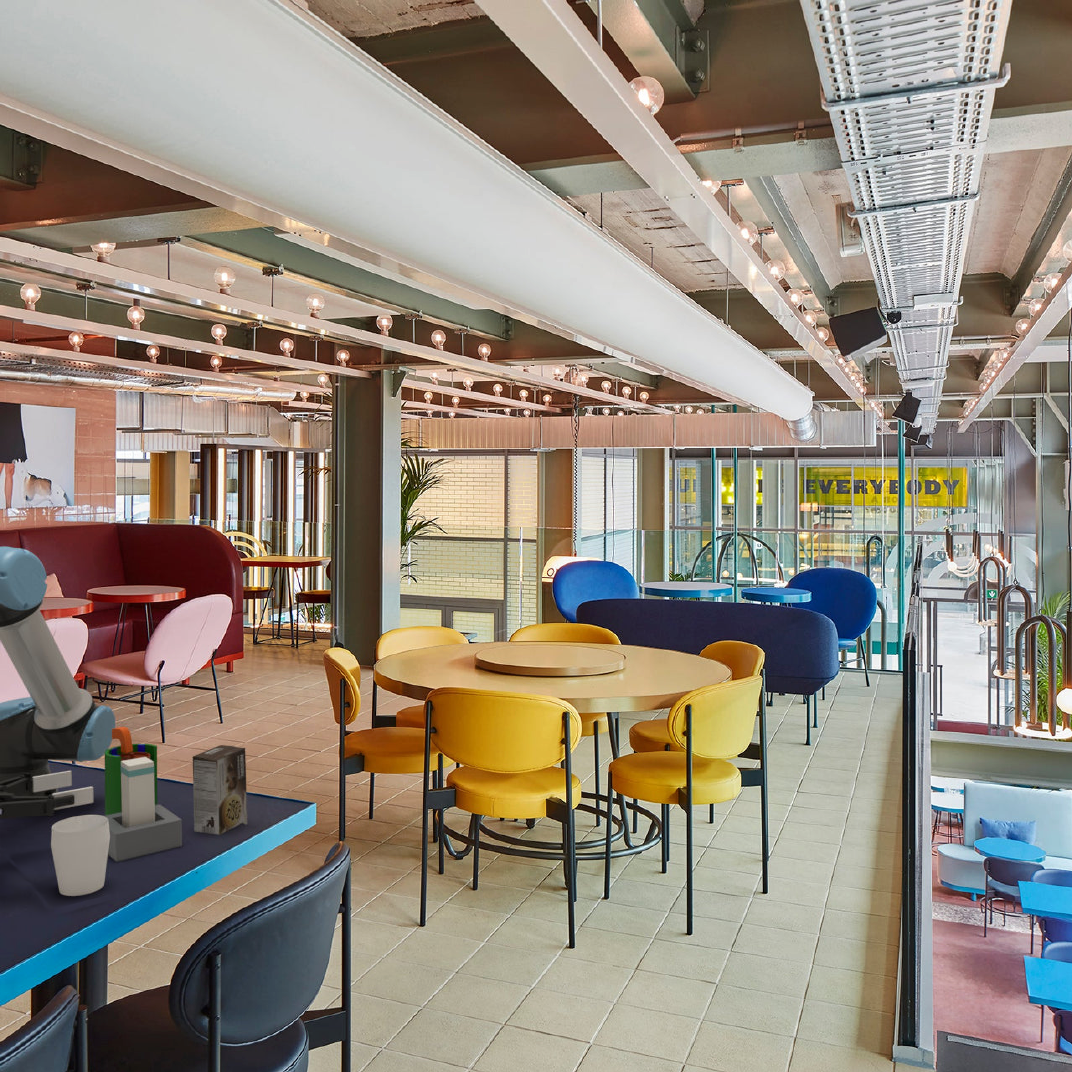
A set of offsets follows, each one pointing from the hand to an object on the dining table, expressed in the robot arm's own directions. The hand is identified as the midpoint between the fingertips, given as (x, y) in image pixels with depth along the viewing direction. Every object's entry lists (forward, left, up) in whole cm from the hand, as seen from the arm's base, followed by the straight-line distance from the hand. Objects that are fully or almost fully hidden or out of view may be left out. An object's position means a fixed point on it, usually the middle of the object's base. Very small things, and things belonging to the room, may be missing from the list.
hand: (81, 785), depth 175 cm
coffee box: (0, +26, -15) cm, 30 cm away
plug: (0, +10, -13) cm, 17 cm away
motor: (-15, +13, -15) cm, 25 cm away
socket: (0, +10, -14) cm, 18 cm away
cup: (+14, -4, -15) cm, 20 cm away
